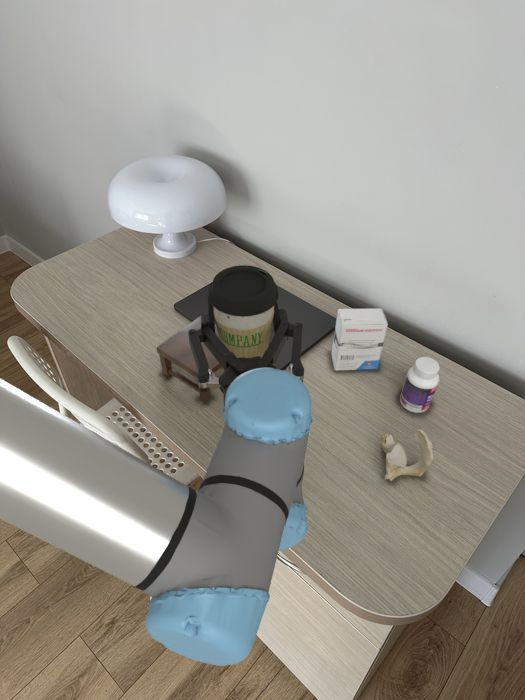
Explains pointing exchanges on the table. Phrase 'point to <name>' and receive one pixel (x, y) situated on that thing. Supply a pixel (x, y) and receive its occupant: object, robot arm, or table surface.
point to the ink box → (358, 338)
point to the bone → (398, 458)
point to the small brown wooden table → (185, 357)
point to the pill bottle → (420, 385)
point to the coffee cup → (244, 308)
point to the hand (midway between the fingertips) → (241, 300)
